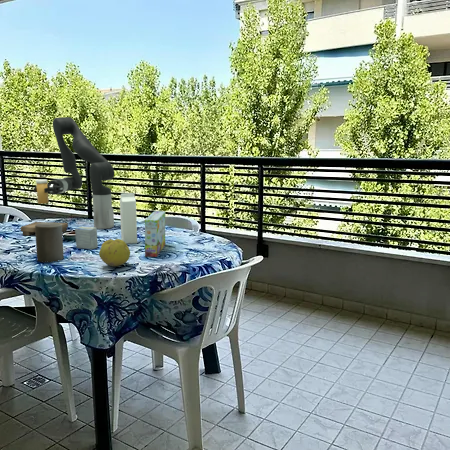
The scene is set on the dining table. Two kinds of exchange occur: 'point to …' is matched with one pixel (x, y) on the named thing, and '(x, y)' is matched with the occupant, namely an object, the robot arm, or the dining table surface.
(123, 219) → the milk
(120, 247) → the fruit
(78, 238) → the medicine box
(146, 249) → the snack box
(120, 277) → the dining table surface
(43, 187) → the beer glass
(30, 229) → the walnut stand
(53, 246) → the pillar candle
